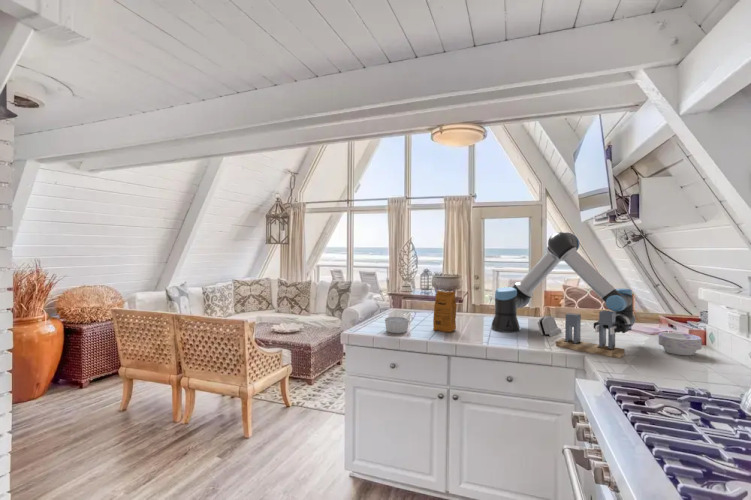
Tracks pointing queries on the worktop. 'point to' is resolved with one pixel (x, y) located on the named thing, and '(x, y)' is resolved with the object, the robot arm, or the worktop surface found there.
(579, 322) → the seated clip
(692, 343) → the paper bowls
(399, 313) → the worktop surface
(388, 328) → the ramekin
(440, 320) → the coffee package
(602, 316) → the steel clip
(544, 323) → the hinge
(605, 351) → the oak rail
